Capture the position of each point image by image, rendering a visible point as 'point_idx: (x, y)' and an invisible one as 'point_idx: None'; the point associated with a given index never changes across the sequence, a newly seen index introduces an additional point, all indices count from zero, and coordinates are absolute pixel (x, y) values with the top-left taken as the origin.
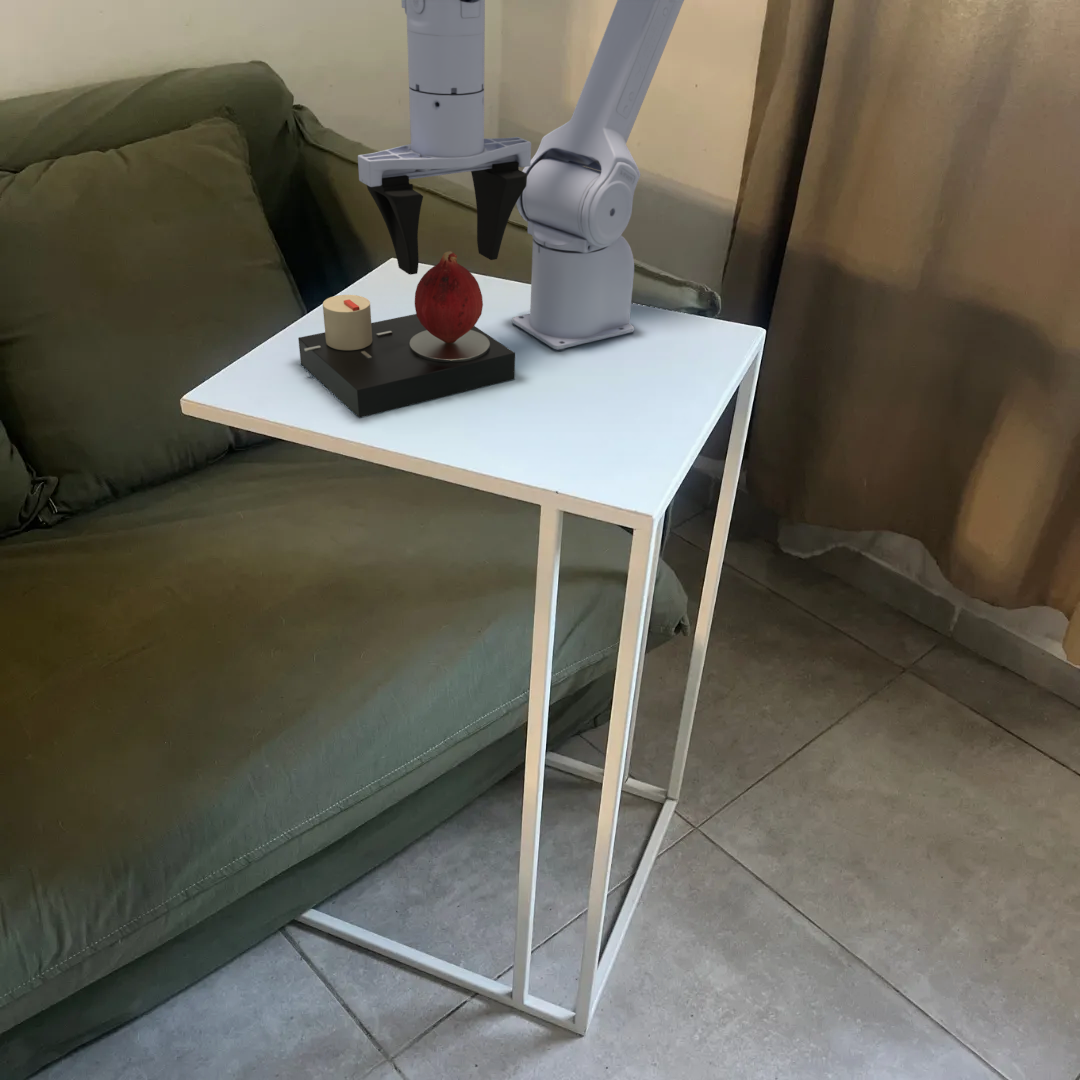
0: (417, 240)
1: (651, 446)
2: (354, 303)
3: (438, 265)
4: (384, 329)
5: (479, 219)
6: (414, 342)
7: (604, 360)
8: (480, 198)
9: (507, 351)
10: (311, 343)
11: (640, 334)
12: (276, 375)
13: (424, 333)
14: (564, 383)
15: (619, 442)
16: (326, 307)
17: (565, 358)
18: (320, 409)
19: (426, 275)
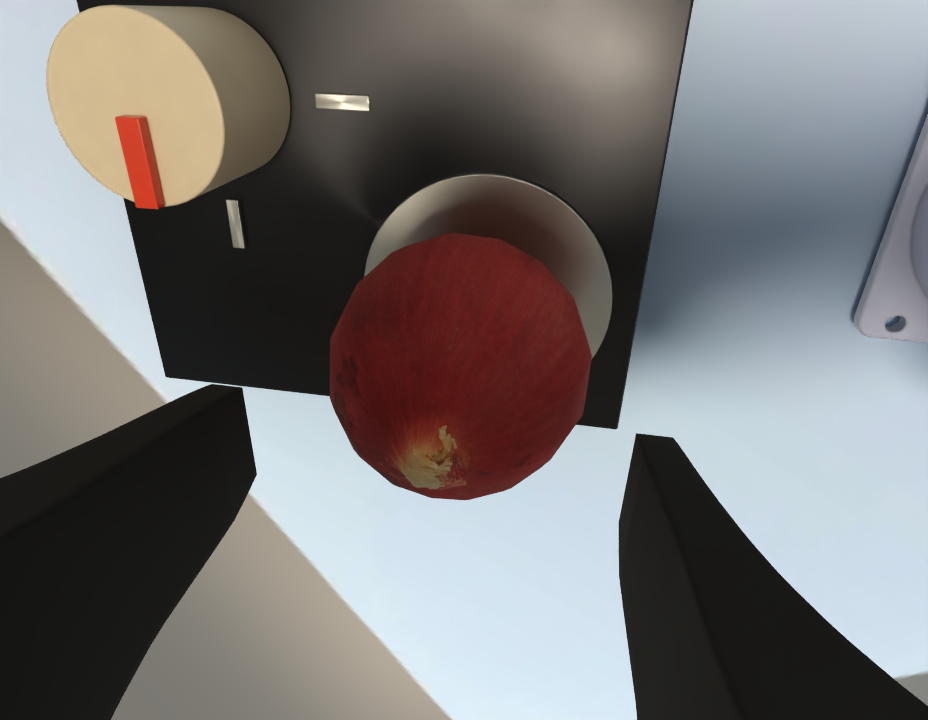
0: (169, 612)
1: (629, 686)
2: (147, 171)
3: (381, 442)
4: (362, 57)
5: (667, 552)
6: (390, 241)
7: (907, 434)
8: (691, 683)
9: (604, 413)
10: None
11: None
12: (54, 7)
13: (452, 197)
14: (701, 464)
15: (594, 654)
16: (55, 116)
17: (832, 368)
18: (135, 262)
19: (349, 390)
